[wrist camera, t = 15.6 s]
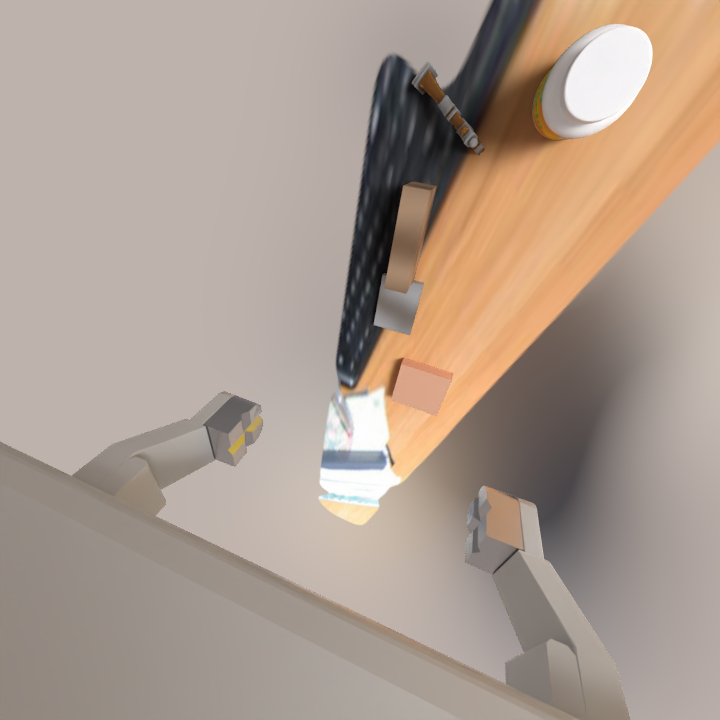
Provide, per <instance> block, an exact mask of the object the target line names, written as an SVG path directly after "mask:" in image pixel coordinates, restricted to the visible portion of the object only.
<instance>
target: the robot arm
mask: <svg viewBox="0 0 720 720" xmlns="http://www.w3.org/2000/svg"><path fill="white" fill-rule="evenodd" d="M261 412H262V410H261V405H259V404H256V403H254V402H251V401H249V400H246V399H243V398H241V397H238V396H236V395H233V394H231V393H228V392H221V393H219V394H218V395H217V396H216V397H215V398H214V399H212V400H211V401H210V402H209V403H208V404H207V405H206V406H205V407H203V408H202V409H201V410H200V411H199V412H198V413H197V414H196V415H195V416H193V418H191V419H190V420H189V419H184V420H181V421H178V422H176V423H172V424H170V425H166V426H164V427H161V428H158V429H155V430H152V431H149V432H146V433H144V434H140V435H137V436H135V437H132V438H129V439H126V440H123V441H120V442H117V443H114V444H112V445H111V446H109V447H108V448H107V449H105V450H104V451H103V452H101V453H100V454H99V455H98V456H97V457H95V458H94V459H92V460H91V461H90V462H89V463H87V464H86V465H85V466H83V467H82V468H81V469H80V470H79V471H77V472H76V473H75V474H73V475H72V476H71V475H68V474H66V473H64V472H62V471H60V470H58V469H56V468H54V467H52V466H50V465H48V464H45V463H43V462H41V461H39V460H37V459H35V458H33V457H31V456H29V455H27V454H24V453H22V452H20V451H18V450H16V449H14V448H12V447H10V446H8V445H6V444H4V443H2V442H0V720H630V717H629V713H628V709H627V706H626V702H625V697H624V693H623V689H622V685H621V681H620V677H619V674H618V669H617V666H616V664H615V663H614V661H613V660H612V658H611V657H610V655H609V654H608V652H607V650H606V649H605V647H604V646H603V644H602V643H601V641H600V639H599V638H598V636H597V635H596V633H595V632H594V630H593V629H592V627H591V626H590V624H589V622H588V621H587V619H586V618H585V616H584V615H583V613H582V612H581V610H580V609H579V607H578V605H577V604H576V603H575V601H574V599H573V598H572V596H571V595H570V593H569V592H568V590H567V589H566V587H565V585H564V584H563V582H562V581H561V579H560V577H559V576H558V574H557V573H556V571H555V570H554V568H553V567H552V565H551V564H550V562H549V561H546V560H544V556H543V549H542V543H541V536H540V529H539V523H538V516H537V508H536V506H535V504H533V503H531V502H528V501H525V500H522V499H520V498H516V497H515V496H512V495H510V494H507V493H504V492H501V491H498V490H495V489H492V488H489V487H486V486H483V487H482V488H481V490H480V491H479V498H475V499H474V500H473V502H472V503H471V506H470V509H469V512H468V517H467V528H468V530H469V532H470V536H469V537H468V539H467V540H466V551H465V562H466V563H468V564H470V565H472V566H475V567H477V568H479V569H481V570H484V571H486V572H488V573H491V574H493V575H492V577H493V579H494V582H495V584H496V586H497V589H498V591H499V594H500V596H501V598H502V601H503V603H504V606H505V608H506V611H507V613H508V615H509V617H510V620H511V623H512V625H513V627H514V630H515V632H516V635H517V637H518V639H519V642H520V644H521V646H522V649H523V651H524V652H523V653H521V654H520V655H518V656H516V657H514V658H512V659H510V660H508V661H507V662H506V663H505V664H506V665H505V668H506V684H505V683H503V682H501V681H498V680H496V679H494V678H492V677H490V676H488V675H486V674H484V673H482V672H480V671H478V670H475V669H474V668H471V667H469V666H467V665H465V664H463V663H461V662H459V661H457V660H455V659H453V658H450V657H448V656H446V655H444V654H442V653H440V652H438V651H436V650H434V649H431V648H430V647H427V646H425V645H423V644H421V643H419V642H417V641H415V640H413V639H411V638H409V637H407V636H405V635H403V634H400V633H398V632H396V631H394V630H392V629H390V628H388V627H386V626H384V625H382V624H379V623H377V622H375V621H373V620H371V619H369V618H367V617H365V616H363V615H361V614H359V613H356V612H354V611H352V610H350V609H348V608H346V607H344V606H342V605H340V604H338V603H336V602H334V601H331V600H329V599H327V598H325V597H323V596H321V595H319V594H317V593H315V592H313V591H311V590H308V589H307V588H304V587H302V586H300V585H298V584H296V583H294V582H292V581H290V580H288V579H286V578H284V577H281V576H279V575H277V574H275V573H273V572H271V571H269V570H267V569H265V568H263V567H261V566H258V565H256V564H254V563H252V562H250V561H248V560H246V559H244V558H242V557H240V556H238V555H236V554H233V553H231V552H229V551H227V550H225V549H223V548H221V547H219V546H217V545H215V544H212V543H210V542H208V541H206V540H204V539H202V538H200V537H198V536H196V535H194V534H192V533H190V532H188V531H185V530H183V529H181V528H179V527H177V526H175V525H173V524H171V523H169V522H167V521H164V520H162V519H160V518H158V517H156V515H157V514H158V512H159V511H160V510H161V509H162V508H163V507H164V506H165V505H166V500H165V498H164V496H163V494H162V492H161V489H163V488H164V487H166V486H168V485H170V484H172V483H174V482H176V481H177V480H179V479H181V478H183V477H185V476H187V475H188V474H190V473H192V472H194V471H196V470H198V469H200V468H201V467H203V466H205V465H207V464H209V463H211V462H213V461H214V460H215V459H216V460H219V461H221V462H224V463H227V464H229V465H232V466H236V465H237V464H238V462H239V461H240V460H241V459H242V457H243V456H244V455H245V454H246V450H247V448H246V447H247V446H249V445H251V444H253V443H254V442H255V441H256V440H257V439H258V437H259V435H260V433H261V431H262V426H263V420H262V418H261V417H260V416H259V414H260V413H261Z"/></svg>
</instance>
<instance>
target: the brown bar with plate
mask: <svg viewBox="0 0 720 720" xmlns="http://www.w3.org/2000/svg"><path fill="white" fill-rule="evenodd" d="M436 188H437V186H434V185H429V184H424V183H418V182H410V183H408V184H406V185H403V190H402V195H401V200H400V206H399V211H398V217H397V222H396V227H395V233H394V238H393V244H392V249H391V254H390V260H389V265H388V271H387V273H384V274H383V275H382V281H381V286H380V292H379V298H378V303H377V309H376V314H375V320H374V325H376V326H379V327H383V328H386V329H390V330H393V331H397V332H400V333H404V334H407V335H410V333H411V330H412V326H413V323H414V319H415V315H416V311H417V308H418V304H419V300H420V296H421V293H422V289H423V285H424V283H423V282H419V281H415V280H414V278H415V274H416V270H417V266H418V261H419V257H420V253H421V249H422V245H423V241H424V237H425V233H426V229H427V225H428V220H429V216H430V212H431V208H432V204H433V200H434V196H435V192H436Z"/></svg>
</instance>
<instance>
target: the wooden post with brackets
mask: <svg viewBox="0 0 720 720" xmlns="http://www.w3.org/2000/svg"><path fill="white" fill-rule="evenodd" d="M437 76H438V75H437V73H436V71H435V70H434V69H433V67H432V66H431V64H430V63H429V62H428V60H427V62H426V63H425V64H424V66H423V67H422V69H421V70H420V71H419V73H418V74H417V76H416V77H415V79H414V80H413V81H412V84H413V85H414V86H415V88H416V89H417V90H418V91H419V92H420V93H421V94H422V95H423V94H424V93H425V92H426V93H428V94H429V95H430V96H431V97H432V98H433V99H434V100H435V101H436V102H437V103H438V107H439V109H440V110H441V111H442V112H443V114H444V116H445V117H446V119H447V120H448V121H449V122H450V124H451V125H454V126H455V129H456V130H457V132H456V133H457V134H458V135H459V136H460V137H461V139H462V140H463V142H464V144H465V145H466V146H467V147H471V148H472V149H473V150H474V151H475V152H476V153H477V154H478V155H480V153H481V152H482V151H483V150H484V149H485V148H484V147H483V145H482V144H481V142H480V141H479V140H478V139H477V138H478V137H477V135H476V134H475V133H474V132H473V131H474V130H473V128H472V127H471V126H470V125H469V124H468V123H467V122H466V120H465V119H464V118H461V115H462V114H461V113H460V111H459V110H458V109H457V107H456V106H455V105H454V104H453V103H452V102H451V100H450V98H449V97H448V96H447V95H446V96H445V95H444V93H443V92H442V90H441V88H440V87H439V85H438V83H437V81H436V79H435V78H436V77H437Z"/></svg>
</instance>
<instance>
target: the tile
mask: <svg viewBox="0 0 720 720" xmlns="http://www.w3.org/2000/svg"><path fill="white" fill-rule="evenodd" d="M452 376H453V373H451V372H447V371H444V370H441V369H438V368H435V367H432V366H428V365H425V364H422V363H419V362H416V361H413V360H409V359H406V358H404V359H403V361H402V364H401V367H400V370H399V374H398V377H397V381H396V384H395V388H394V391H393V395H392V399H391V400H392V401H395V402H398V403H401V404H403V405H406V406H409V407H412V408H415V409H418V410H421V411H424V412H427V413H429V414H432V415H435V416H437V414H438V411H439V409H440V407H441V404H442V402H443V400H444V397H445V395H446V393H447V390H448V388H449V386H450V383H451V381H452Z"/></svg>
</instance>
